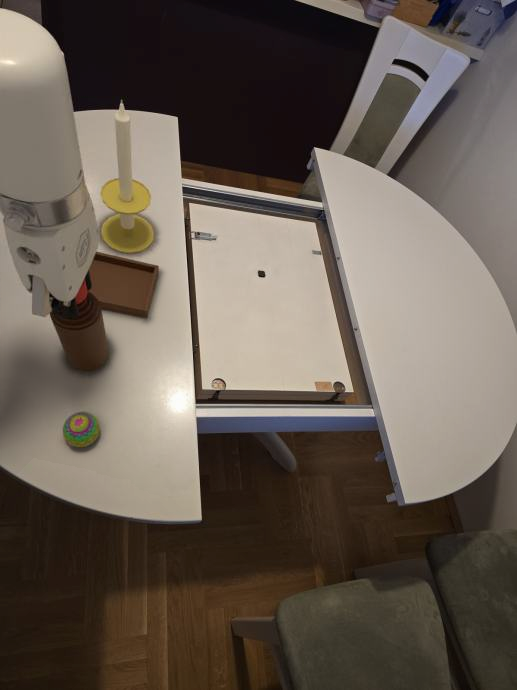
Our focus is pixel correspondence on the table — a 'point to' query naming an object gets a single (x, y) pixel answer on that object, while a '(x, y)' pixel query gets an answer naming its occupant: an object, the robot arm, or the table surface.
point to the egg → (81, 429)
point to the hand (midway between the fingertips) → (72, 298)
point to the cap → (81, 293)
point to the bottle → (83, 335)
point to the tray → (123, 283)
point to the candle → (126, 198)
